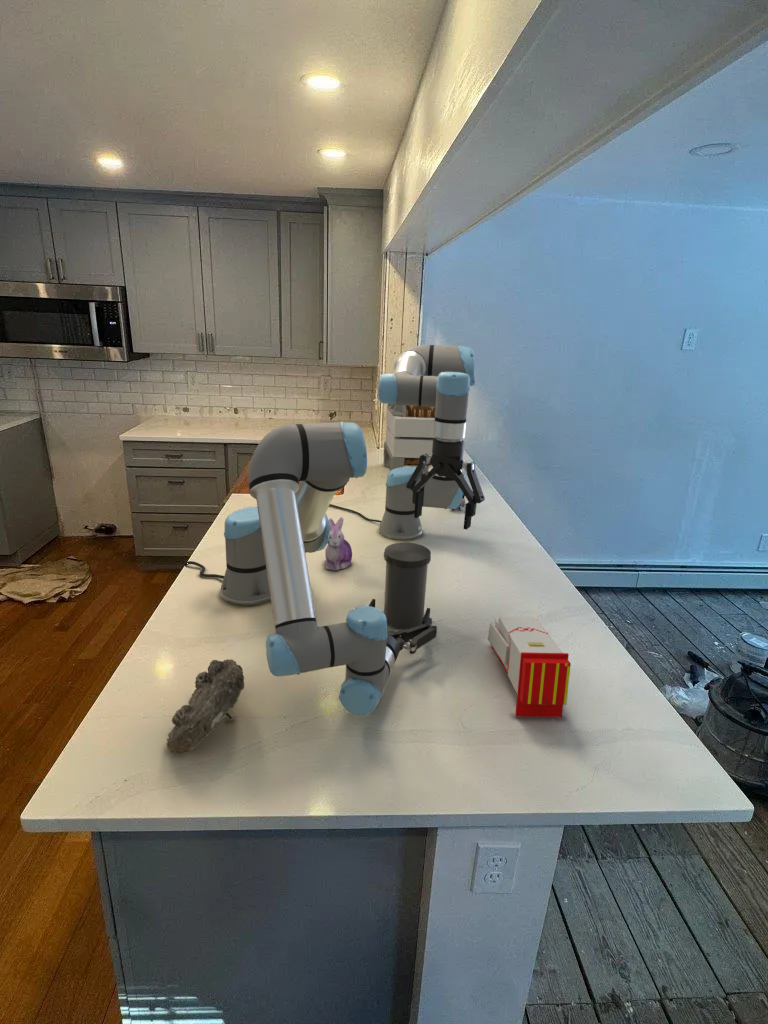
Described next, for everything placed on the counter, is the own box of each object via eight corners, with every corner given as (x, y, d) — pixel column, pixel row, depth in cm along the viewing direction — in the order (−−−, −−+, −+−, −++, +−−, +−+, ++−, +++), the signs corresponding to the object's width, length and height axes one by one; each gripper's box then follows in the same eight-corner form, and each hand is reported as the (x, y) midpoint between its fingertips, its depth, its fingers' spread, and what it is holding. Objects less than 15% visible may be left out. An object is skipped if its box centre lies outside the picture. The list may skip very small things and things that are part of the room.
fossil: (192, 660, 117) (244, 628, 112) (224, 691, 120) (276, 661, 115) (142, 746, 98) (202, 712, 93) (182, 779, 101) (242, 748, 96)
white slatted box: (382, 463, 289) (386, 382, 275) (445, 464, 293) (451, 384, 279) (390, 482, 257) (394, 392, 243) (460, 483, 261) (468, 394, 247)
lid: (417, 572, 132) (418, 565, 132) (375, 560, 138) (375, 553, 137) (438, 556, 142) (438, 549, 141) (397, 545, 147) (398, 538, 146)
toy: (534, 602, 136) (579, 659, 107) (529, 653, 139) (572, 723, 110) (484, 601, 136) (516, 658, 107) (480, 652, 139) (510, 722, 109)
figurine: (330, 573, 167) (330, 526, 162) (317, 560, 176) (317, 515, 171) (359, 568, 172) (360, 522, 167) (345, 555, 180) (346, 511, 175)
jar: (412, 633, 139) (416, 565, 133) (376, 621, 144) (379, 555, 137) (430, 615, 147) (435, 551, 141) (395, 604, 152) (399, 541, 146)
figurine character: (465, 515, 224) (460, 499, 237) (467, 498, 221) (462, 483, 234) (448, 515, 224) (444, 499, 237) (450, 498, 220) (445, 482, 234)
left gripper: (321, 660, 122) (351, 613, 142) (435, 683, 117) (450, 630, 136) (321, 630, 120) (352, 586, 139) (438, 651, 114) (453, 602, 134)
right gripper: (504, 443, 133) (494, 528, 140) (410, 429, 144) (405, 508, 151) (492, 449, 127) (483, 537, 134) (395, 433, 138) (391, 515, 145)
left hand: (400, 608), depth 138 cm, fingers open, 13 cm apart
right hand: (441, 522), depth 142 cm, fingers open, 13 cm apart
